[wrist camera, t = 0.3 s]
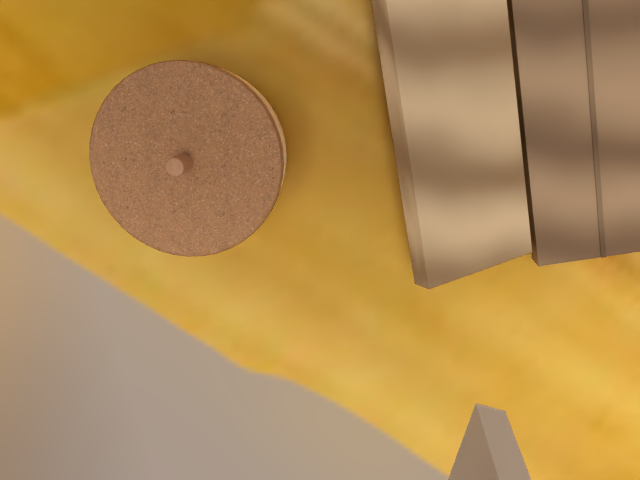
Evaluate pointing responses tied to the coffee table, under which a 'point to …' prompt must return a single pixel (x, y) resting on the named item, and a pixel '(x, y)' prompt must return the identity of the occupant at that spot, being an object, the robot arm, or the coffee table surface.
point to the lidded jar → (187, 157)
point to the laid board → (579, 124)
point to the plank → (454, 133)
